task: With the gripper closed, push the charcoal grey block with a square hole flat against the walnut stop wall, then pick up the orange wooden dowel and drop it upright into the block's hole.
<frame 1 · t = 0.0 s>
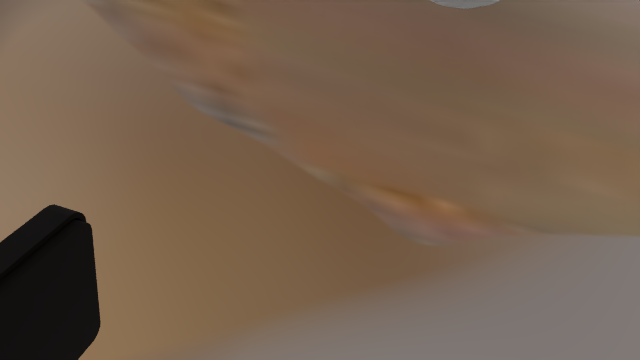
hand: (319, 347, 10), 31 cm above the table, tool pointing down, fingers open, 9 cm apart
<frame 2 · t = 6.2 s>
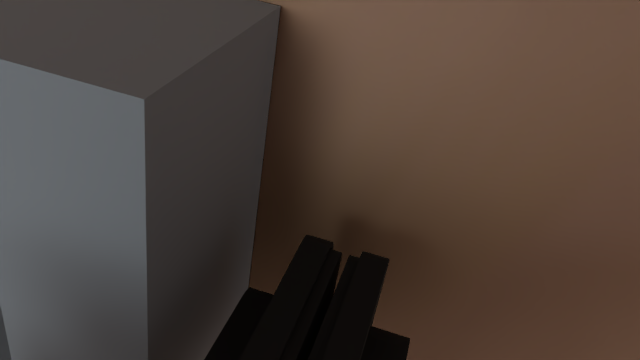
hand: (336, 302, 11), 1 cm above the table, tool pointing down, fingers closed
hole block: (58, 168, 14), on the table, touching gripper
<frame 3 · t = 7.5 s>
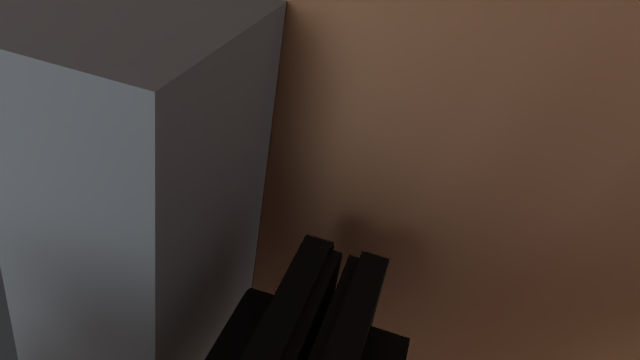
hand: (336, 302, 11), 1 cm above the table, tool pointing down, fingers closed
hole block: (62, 164, 14), on the table, touching gripper, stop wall
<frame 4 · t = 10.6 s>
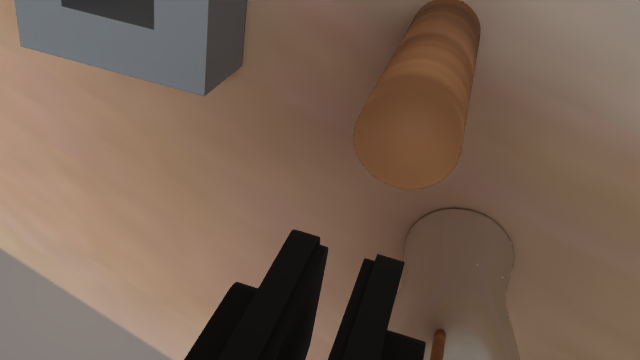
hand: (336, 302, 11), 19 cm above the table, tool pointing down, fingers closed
beer glass: (458, 250, 33), on the table
dowel: (445, 33, 27), on the table
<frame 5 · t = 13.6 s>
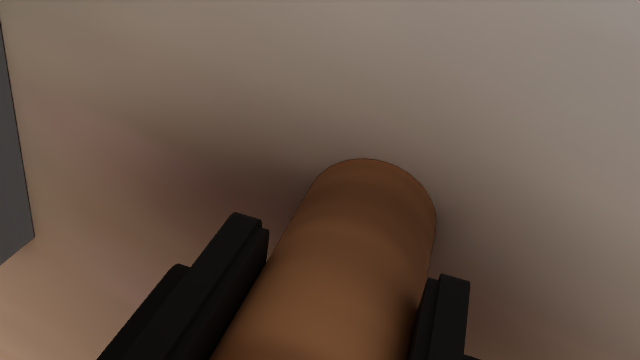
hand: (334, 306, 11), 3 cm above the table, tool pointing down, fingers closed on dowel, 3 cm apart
dowel: (369, 217, 14), on the table, touching gripper
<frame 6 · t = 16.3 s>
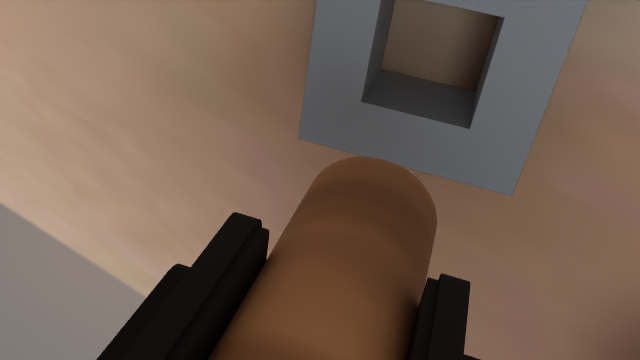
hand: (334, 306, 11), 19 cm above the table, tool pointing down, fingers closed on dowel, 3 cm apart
dowel: (369, 216, 14), point 16 cm above the table, touching gripper
hole block: (439, 33, 27), on the table
when the fingers open (6 cm above the table, at t = 19.1 s): dowel drops 2 cm, resting in hole block.
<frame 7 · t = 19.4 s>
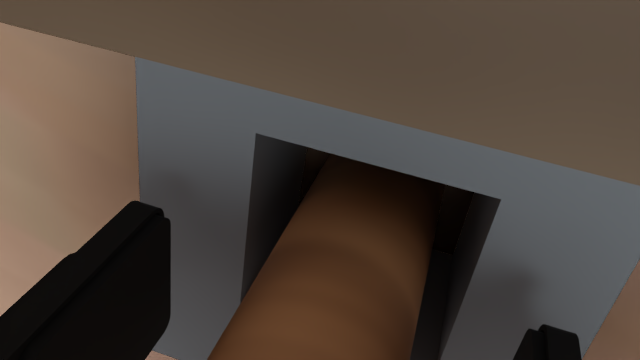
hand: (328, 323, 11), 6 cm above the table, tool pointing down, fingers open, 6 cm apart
dowel: (388, 168, 16), resting in hole block
hole block: (390, 163, 16), on the table
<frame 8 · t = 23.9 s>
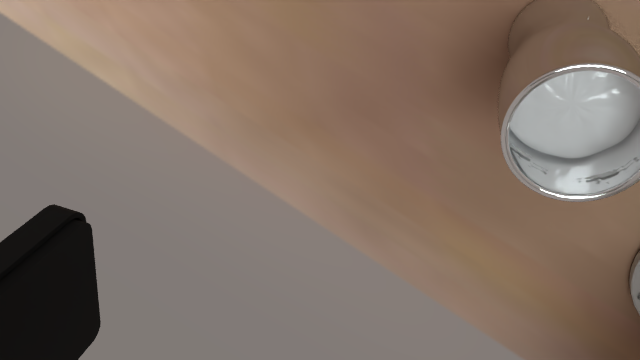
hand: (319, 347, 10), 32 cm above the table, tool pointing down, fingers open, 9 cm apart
beer glass: (557, 39, 37), on the table
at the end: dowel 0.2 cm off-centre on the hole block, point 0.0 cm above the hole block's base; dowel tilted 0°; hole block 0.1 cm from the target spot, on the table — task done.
